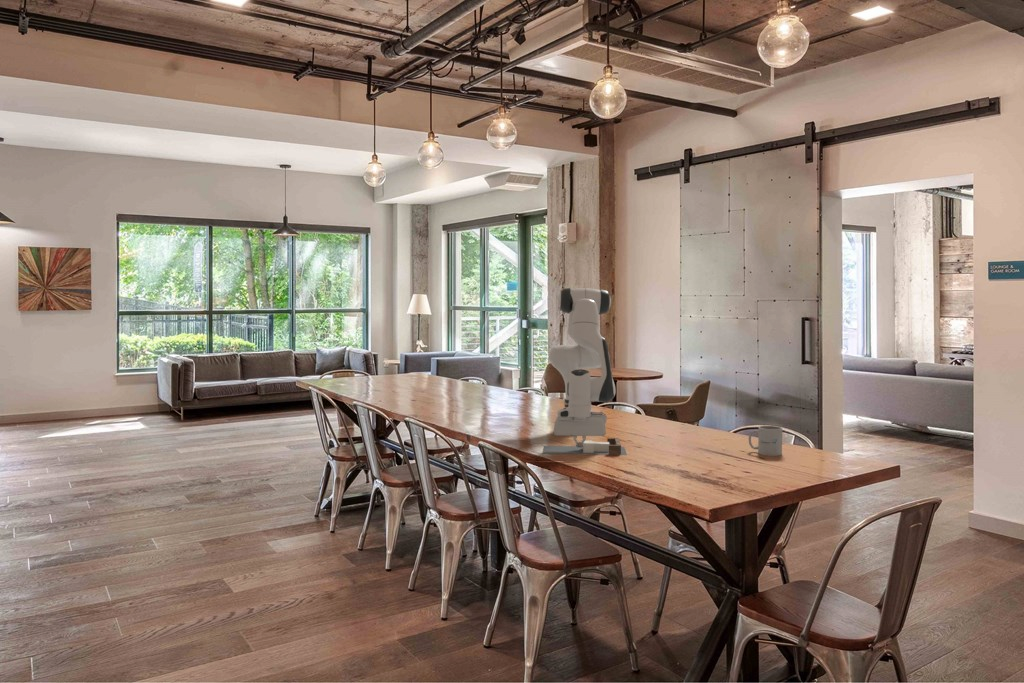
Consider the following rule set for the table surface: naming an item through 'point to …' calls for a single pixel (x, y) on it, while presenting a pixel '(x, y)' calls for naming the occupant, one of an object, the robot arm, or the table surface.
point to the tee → (595, 447)
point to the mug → (768, 440)
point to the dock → (614, 446)
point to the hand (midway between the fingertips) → (579, 447)
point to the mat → (573, 450)
